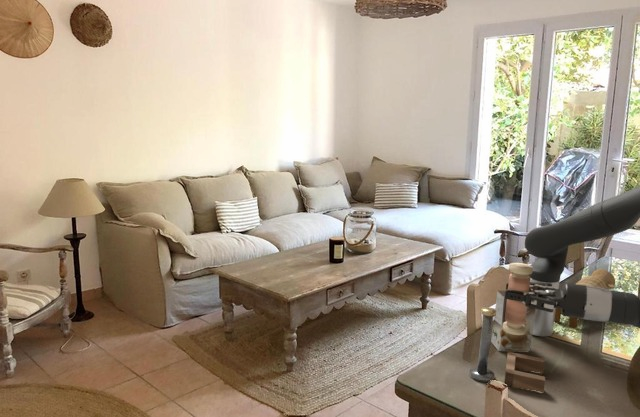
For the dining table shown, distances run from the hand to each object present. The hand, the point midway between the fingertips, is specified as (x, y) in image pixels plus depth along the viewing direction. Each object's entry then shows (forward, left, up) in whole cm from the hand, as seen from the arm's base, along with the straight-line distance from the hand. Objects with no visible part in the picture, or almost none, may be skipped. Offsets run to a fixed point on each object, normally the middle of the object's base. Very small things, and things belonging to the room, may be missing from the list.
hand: (506, 290), depth 121 cm
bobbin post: (-4, -4, -25) cm, 25 cm away
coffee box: (-25, +2, -25) cm, 35 cm away
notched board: (-8, +6, -25) cm, 27 cm away
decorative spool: (-63, +24, -25) cm, 72 cm away
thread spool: (0, +3, -10) cm, 10 cm away
